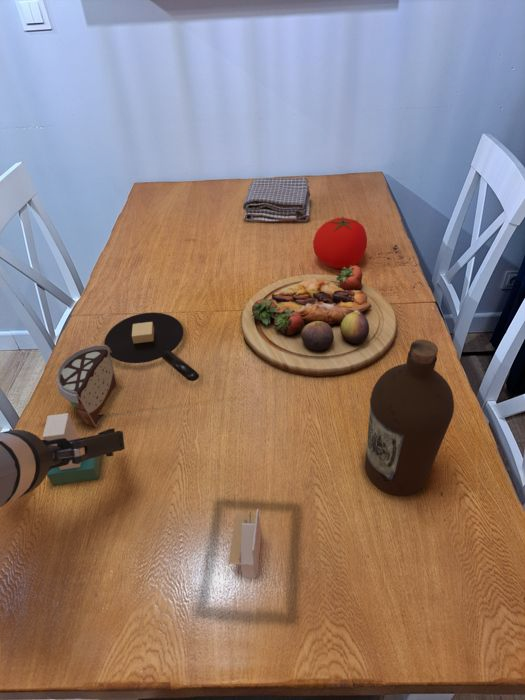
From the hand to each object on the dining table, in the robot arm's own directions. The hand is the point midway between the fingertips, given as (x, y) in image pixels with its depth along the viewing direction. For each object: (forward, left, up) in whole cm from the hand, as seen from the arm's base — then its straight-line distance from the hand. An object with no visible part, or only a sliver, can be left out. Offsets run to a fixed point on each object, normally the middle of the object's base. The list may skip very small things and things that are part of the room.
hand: (67, 443), depth 74 cm
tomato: (+29, +69, -6) cm, 76 cm away
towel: (+7, +92, -6) cm, 93 cm away
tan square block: (-4, +30, -4) cm, 31 cm away
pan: (0, +28, -6) cm, 29 cm away
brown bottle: (+48, +12, -6) cm, 50 cm away
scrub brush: (0, -1, -6) cm, 6 cm away
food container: (-5, +12, -6) cm, 14 cm away
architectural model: (+31, -7, -6) cm, 33 cm away
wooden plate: (+29, +44, -6) cm, 54 cm away
